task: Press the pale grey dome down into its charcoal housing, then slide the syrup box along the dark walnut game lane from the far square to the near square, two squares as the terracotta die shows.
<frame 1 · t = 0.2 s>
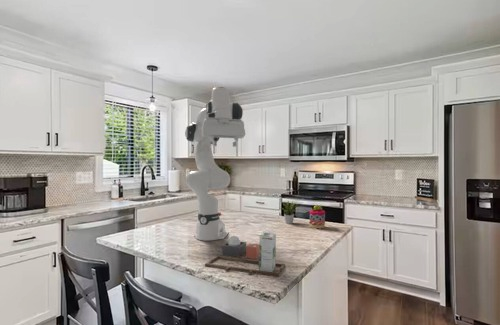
hand: (224, 146, 128), 51 cm above the countertop, tool tilted 20°, fingers open, 8 cm apart
potted succulent: (317, 227, 189), on the countertop
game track: (244, 266, 119), on the countertop
syrup box: (267, 270, 116), resting in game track
popper dome: (234, 241, 136), point 6 cm above the countertop, slide at 0.0 cm
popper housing: (234, 253, 136), on the countertop
house plant: (289, 223, 200), on the countertop
die: (253, 256, 132), on the countertop
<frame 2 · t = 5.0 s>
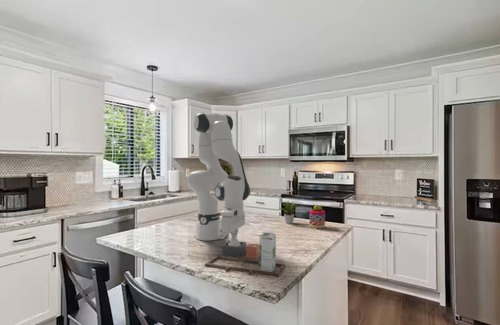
hand: (234, 238, 136), 7 cm above the countertop, tool pointing down, fingers closed, pressing on popper dome
popper dome: (234, 243, 136), point 5 cm above the countertop, slide at -1.2 cm, touching gripper
everything else where it was.
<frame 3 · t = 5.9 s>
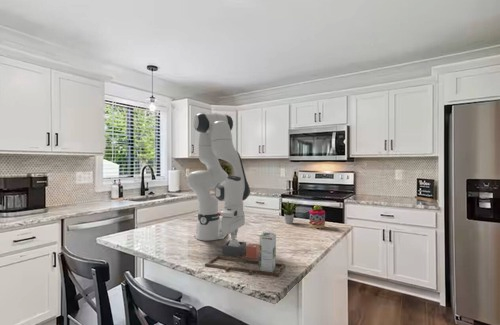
hand: (234, 238, 136), 7 cm above the countertop, tool pointing down, fingers closed
popper dome: (234, 244, 136), point 4 cm above the countertop, slide at -1.6 cm
everything else where it was.
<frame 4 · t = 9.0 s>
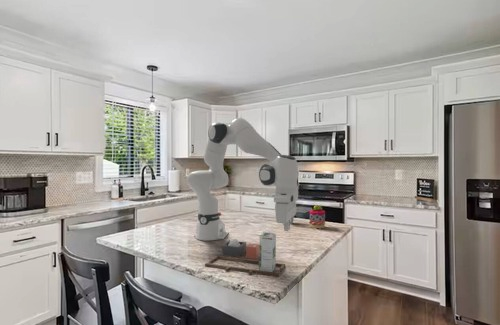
hand: (287, 230, 112), 17 cm above the countertop, tool pointing down, fingers closed
nothing on the countertop moved.
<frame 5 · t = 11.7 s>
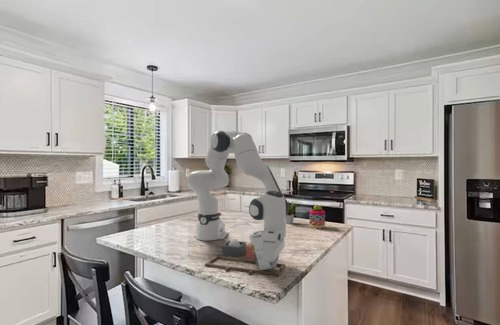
hand: (274, 265, 115), 2 cm above the countertop, tool pointing down, fingers closed, pressing on syrup box
syrup box: (266, 267, 116), point 1 cm above the countertop, touching gripper
everything else where it was.
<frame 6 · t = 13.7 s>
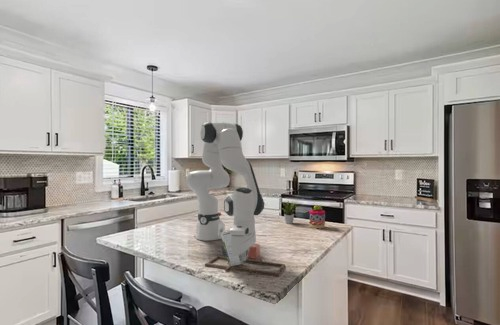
hand: (245, 259, 119), 3 cm above the countertop, tool pointing down, fingers closed, pressing on syrup box
syrup box: (238, 264, 120), point 1 cm above the countertop, touching arm, gripper
everything else where it was.
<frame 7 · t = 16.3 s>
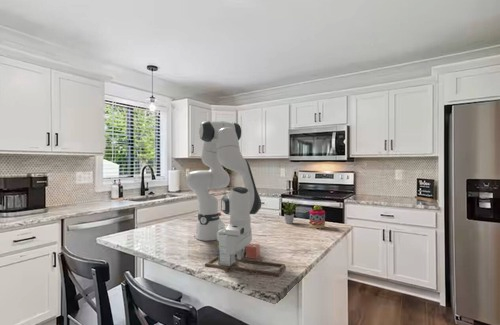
hand: (240, 258, 120), 3 cm above the countertop, tool pointing down, fingers closed
syrup box: (227, 264, 121), resting in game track
everything else where it was.
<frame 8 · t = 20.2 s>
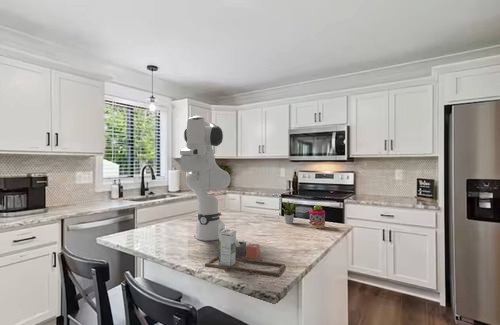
hand: (196, 181, 132), 35 cm above the countertop, tool pointing down, fingers closed
at the end: popper dome slide at -1.6 cm; syrup box inside the target area (2.1 cm from its centre), resting in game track; syrup box tilted 0° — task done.
